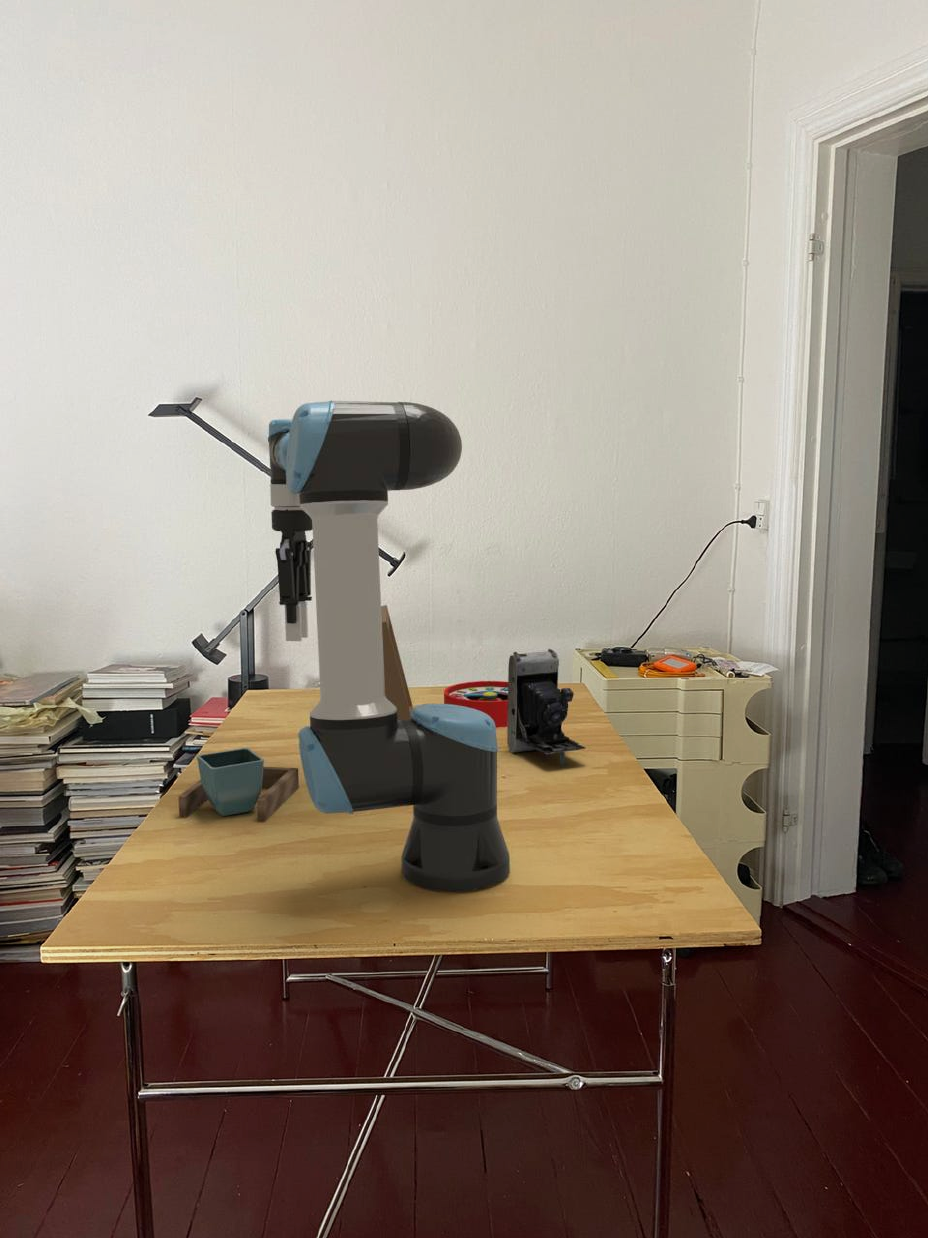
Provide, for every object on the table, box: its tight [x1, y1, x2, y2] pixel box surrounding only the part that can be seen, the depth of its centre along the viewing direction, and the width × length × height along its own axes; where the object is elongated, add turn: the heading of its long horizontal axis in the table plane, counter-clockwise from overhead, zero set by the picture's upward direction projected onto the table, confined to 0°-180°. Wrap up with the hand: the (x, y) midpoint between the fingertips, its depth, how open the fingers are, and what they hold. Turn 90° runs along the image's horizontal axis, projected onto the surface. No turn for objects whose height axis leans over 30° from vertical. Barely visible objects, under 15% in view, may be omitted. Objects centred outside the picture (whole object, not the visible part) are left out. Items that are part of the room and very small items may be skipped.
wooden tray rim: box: [177, 766, 300, 823], centre depth 178 cm, size 17×14×4 cm
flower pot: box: [196, 747, 265, 817], centre depth 174 cm, size 9×9×9 cm
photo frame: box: [381, 604, 414, 720], centre depth 220 cm, size 15×22×25 cm
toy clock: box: [443, 680, 508, 729], centre depth 233 cm, size 20×6×20 cm
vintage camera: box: [506, 648, 587, 768], centre depth 200 cm, size 10×16×20 cm, turn 24°
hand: (297, 638), depth 192 cm, fingers open, 3 cm apart
